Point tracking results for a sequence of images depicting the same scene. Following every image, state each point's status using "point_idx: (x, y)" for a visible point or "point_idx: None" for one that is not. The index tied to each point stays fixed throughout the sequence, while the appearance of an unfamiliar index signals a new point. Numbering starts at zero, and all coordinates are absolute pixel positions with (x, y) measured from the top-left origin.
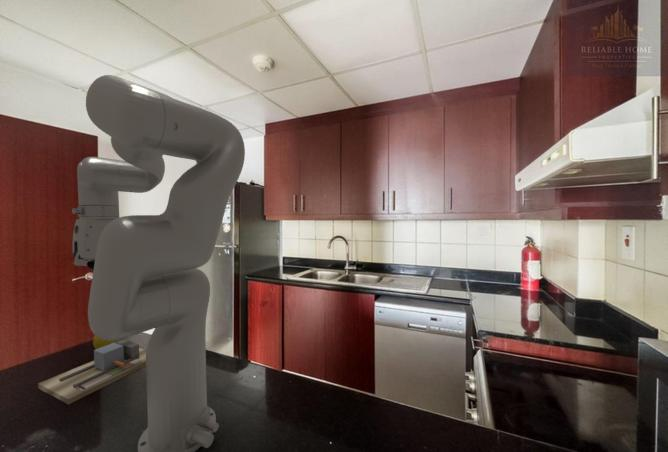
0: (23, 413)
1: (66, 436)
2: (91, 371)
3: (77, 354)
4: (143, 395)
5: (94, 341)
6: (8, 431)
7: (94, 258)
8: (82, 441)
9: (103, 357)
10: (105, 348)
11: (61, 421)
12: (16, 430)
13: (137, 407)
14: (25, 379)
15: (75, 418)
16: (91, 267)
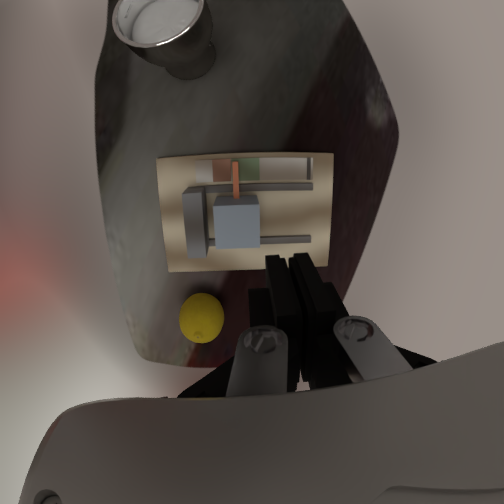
0: (365, 197)
1: (363, 71)
2: (266, 223)
3: (236, 336)
4: (258, 52)
5: (223, 318)
6: (389, 166)
7: (493, 345)
8: (357, 41)
9: (258, 202)
10: (242, 232)
11: (353, 114)
12: (385, 158)
13: (282, 32)
14: None
15: (342, 100)
16: (404, 355)
